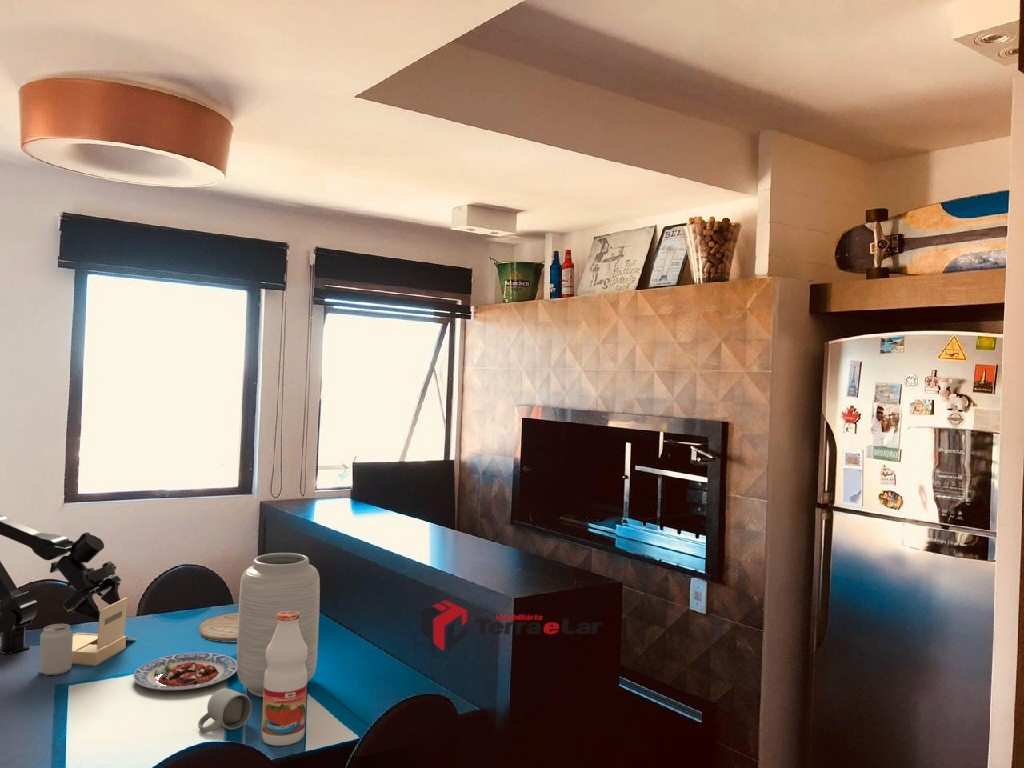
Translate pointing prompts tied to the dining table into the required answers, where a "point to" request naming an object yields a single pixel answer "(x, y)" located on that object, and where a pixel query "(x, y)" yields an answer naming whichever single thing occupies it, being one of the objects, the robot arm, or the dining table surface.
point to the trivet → (220, 628)
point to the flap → (111, 623)
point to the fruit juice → (285, 683)
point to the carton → (94, 649)
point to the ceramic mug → (226, 710)
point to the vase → (275, 612)
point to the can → (56, 649)
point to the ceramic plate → (185, 671)
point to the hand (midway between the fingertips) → (112, 614)
